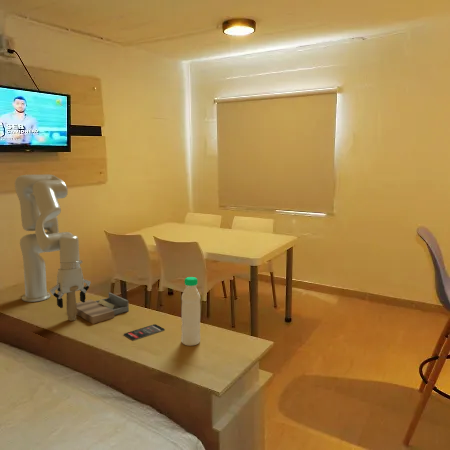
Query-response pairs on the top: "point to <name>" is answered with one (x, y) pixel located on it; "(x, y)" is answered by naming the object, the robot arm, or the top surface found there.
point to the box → (117, 304)
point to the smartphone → (143, 332)
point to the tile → (106, 304)
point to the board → (93, 311)
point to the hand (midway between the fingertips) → (71, 304)
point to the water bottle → (190, 313)
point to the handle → (71, 304)
